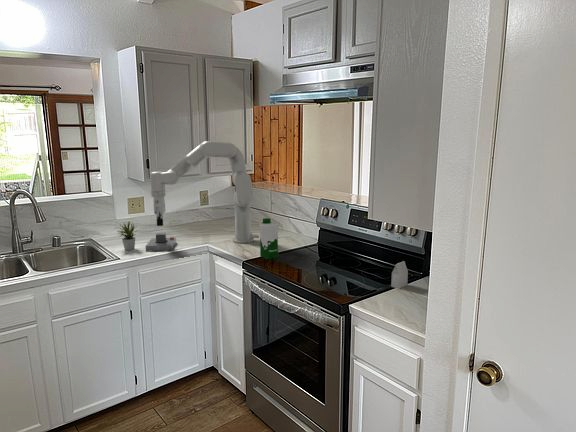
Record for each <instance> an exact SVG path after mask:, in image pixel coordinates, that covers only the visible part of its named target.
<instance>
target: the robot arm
mask: <svg viewBox="0 0 576 432" xmlns="http://www.w3.org/2000/svg"><path fill="white" fill-rule="evenodd" d="M210 157H211V158H212V157H213V158H224V159H225V158H227V159H228V161H229V163H230V168H231V177H232V183H233V184H234V186H235V192H234V193H233V204H234V205H233V206H234V225H235V226H234V232H235V237H234V238H233V239H232V241H233V242H234V243H235V244H236V243H237V244H247V243H253V241H254V240H255V239H260V234H257V233H254V234H253V233H252V210H251V205H252V204H253V202H254V192H253V190H254V189H253V184H252V178H251V176H250V174H249V173H248V171H247V166H246V160H245V157H244V155H243V152H242V151H241V150H240V149H239V147H237V146H236V144H233V143H232V142H228V141H227V142H221V141H213V140H211V141H210V140H205V141H203V142H200V144H199V145H197V146H196V147H195V148H193V150H191V151H190V152H189V153H187V154H186V155H185V156H184V157H183V158H182V159H181V160H179V162H177V163H176V164H175V165H173V166H172V167H171V168H170V169H169V170H167V171H165V172H163V171H151V173H150V191H151V197H152V198H153V213H154V215H155V216H156V226H157V227H163V226H164V217H163V215H164V214H165V213H166V201H165V200H166V199H165V197H166V185H170V186H174V185H176V184H177V183H178V182H179V180H180V179H181V178H182V177H183V176H184V175H186V174H187V173H188V172H190V171H192V170H194V169H196V168H198V166H200V165H201V164H202V163H204V162H205V161H206V160H207V159H208V158H210Z"/></svg>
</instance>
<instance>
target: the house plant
mask: <svg viewBox="0 0 576 432" xmlns="http://www.w3.org/2000/svg"><path fill="white" fill-rule="evenodd" d="M116 224H118V225H120V226H121V227H119V226H115V227H116V228H118V229H120V230H117V231H116V232H117V233H118V234H119V236H120V237H122V236H123V238H121V240H122V244H123V247H124V248H123V249H124V251H134V250H135V246H136V237H134V236H136V234H135V233H136V232H137V230H136V231H135V229H136V225H135V224H134V223H131V221H130V220H129V221H128V222H127V224H125V223H123V225H122V224H121V223H116ZM130 224H131V225H130Z"/></svg>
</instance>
